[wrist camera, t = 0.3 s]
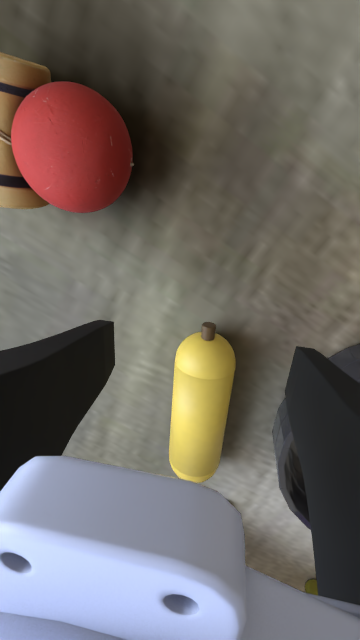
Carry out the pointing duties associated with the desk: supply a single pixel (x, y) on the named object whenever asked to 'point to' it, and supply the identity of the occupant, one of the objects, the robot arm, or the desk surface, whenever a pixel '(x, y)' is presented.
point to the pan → (290, 476)
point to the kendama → (58, 142)
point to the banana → (200, 403)
